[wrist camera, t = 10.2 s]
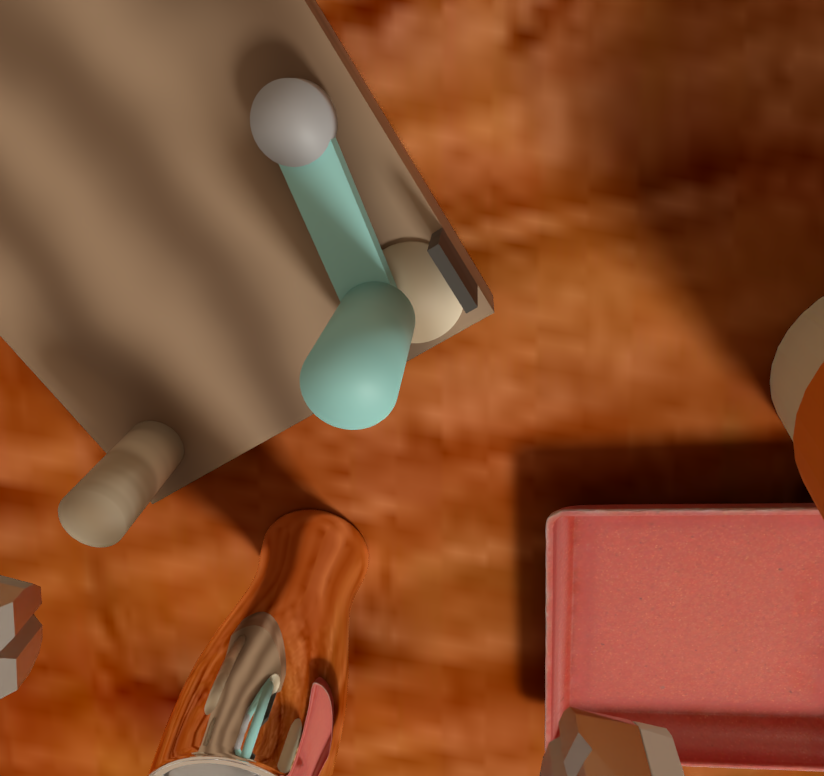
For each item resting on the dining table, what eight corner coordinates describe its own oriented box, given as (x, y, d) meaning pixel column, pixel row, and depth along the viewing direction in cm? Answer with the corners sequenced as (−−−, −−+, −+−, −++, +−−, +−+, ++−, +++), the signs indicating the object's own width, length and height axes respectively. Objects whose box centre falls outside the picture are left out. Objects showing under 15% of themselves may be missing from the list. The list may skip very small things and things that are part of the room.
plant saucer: (540, 717, 42) (545, 766, 39) (539, 475, 35) (545, 513, 32) (843, 723, 40) (873, 775, 37) (912, 467, 33) (957, 506, 30)
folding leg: (243, 98, 25) (156, 104, 18) (319, 63, 24) (259, 56, 17) (360, 356, 29) (324, 440, 22) (428, 333, 28) (413, 413, 21)
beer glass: (279, 482, 36) (158, 728, 22) (396, 531, 36) (350, 799, 23) (240, 572, 39) (113, 838, 25) (350, 616, 39) (284, 898, 26)
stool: (172, 477, 36) (91, 584, 28) (-115, 149, 30) (-318, 173, 22) (493, 295, 30) (498, 368, 23) (218, -160, 24) (97, -273, 16)
